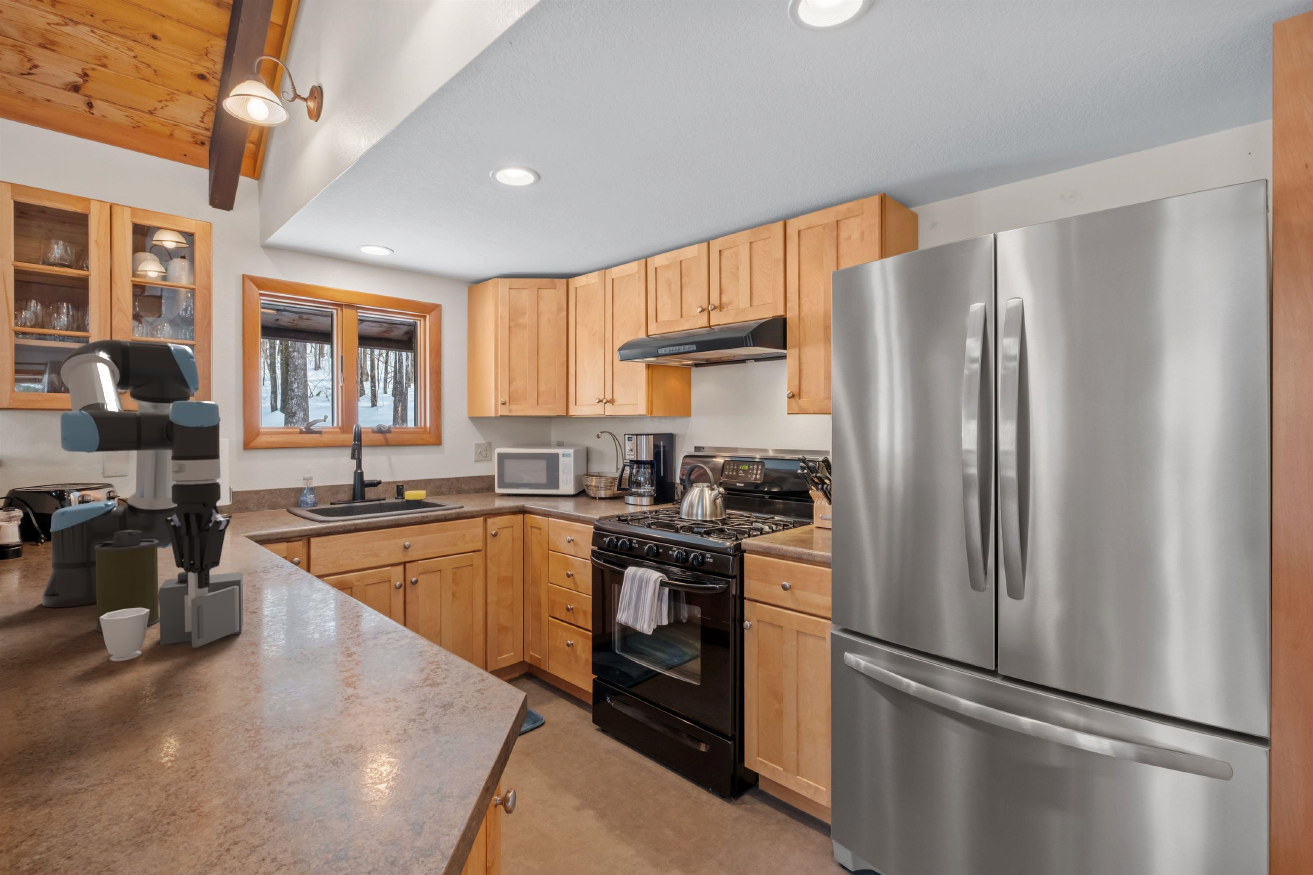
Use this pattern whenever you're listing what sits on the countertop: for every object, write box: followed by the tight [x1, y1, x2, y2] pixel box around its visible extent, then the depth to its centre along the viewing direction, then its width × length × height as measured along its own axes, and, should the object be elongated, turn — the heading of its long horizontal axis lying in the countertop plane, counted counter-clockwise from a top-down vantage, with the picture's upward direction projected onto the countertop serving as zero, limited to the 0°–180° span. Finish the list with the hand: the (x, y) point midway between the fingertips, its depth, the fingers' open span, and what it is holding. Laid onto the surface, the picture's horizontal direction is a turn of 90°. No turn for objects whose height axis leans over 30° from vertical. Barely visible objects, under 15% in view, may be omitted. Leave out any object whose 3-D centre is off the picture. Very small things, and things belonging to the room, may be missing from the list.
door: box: [191, 586, 239, 648], centre depth 121 cm, size 2×10×9 cm, turn 171°
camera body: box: [158, 571, 244, 646], centre depth 126 cm, size 8×13×12 cm, turn 121°
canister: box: [94, 530, 160, 633], centre depth 132 cm, size 11×10×20 cm
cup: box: [99, 608, 150, 662], centre depth 115 cm, size 7×10×8 cm
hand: (198, 604), depth 119 cm, fingers closed
